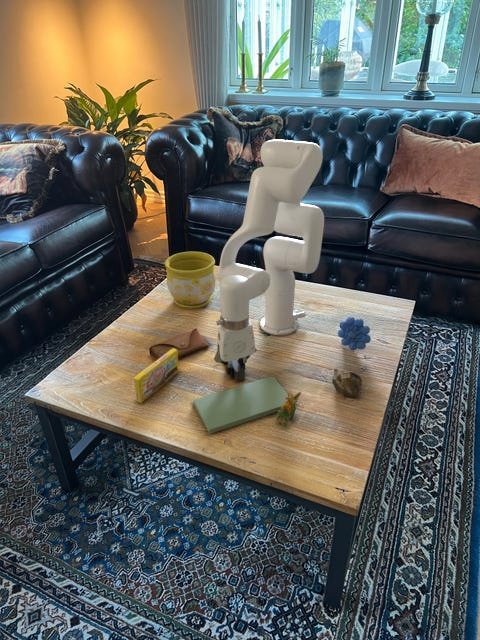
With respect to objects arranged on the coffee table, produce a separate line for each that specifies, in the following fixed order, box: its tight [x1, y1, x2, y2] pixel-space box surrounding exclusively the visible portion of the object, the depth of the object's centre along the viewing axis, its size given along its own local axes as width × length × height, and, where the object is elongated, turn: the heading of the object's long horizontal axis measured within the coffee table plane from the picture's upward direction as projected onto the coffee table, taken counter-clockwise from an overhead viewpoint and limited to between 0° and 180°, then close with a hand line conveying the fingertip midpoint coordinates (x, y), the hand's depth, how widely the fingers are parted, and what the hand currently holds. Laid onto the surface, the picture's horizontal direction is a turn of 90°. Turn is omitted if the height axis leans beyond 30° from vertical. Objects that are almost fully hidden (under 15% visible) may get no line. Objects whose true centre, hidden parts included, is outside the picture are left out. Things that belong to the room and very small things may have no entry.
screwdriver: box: [232, 359, 246, 383], centre depth 131 cm, size 15×3×4 cm, turn 24°
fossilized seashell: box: [331, 368, 363, 398], centre depth 122 cm, size 8×7×10 cm
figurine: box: [275, 391, 302, 428], centre depth 111 cm, size 3×12×8 cm, turn 144°
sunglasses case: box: [148, 327, 211, 362], centre depth 139 cm, size 18×7×7 cm, turn 130°
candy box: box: [133, 348, 180, 404], centre depth 122 cm, size 16×2×8 cm, turn 148°
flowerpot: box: [164, 251, 217, 310], centre depth 162 cm, size 18×18×16 cm
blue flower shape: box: [337, 316, 372, 352], centre depth 136 cm, size 12×7×12 cm, turn 40°
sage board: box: [192, 375, 291, 435], centre depth 117 cm, size 24×12×2 cm, turn 114°
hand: (235, 373), depth 129 cm, fingers closed on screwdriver, 2 cm apart
